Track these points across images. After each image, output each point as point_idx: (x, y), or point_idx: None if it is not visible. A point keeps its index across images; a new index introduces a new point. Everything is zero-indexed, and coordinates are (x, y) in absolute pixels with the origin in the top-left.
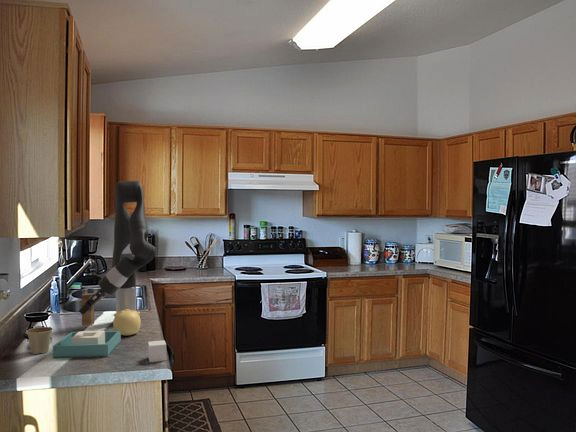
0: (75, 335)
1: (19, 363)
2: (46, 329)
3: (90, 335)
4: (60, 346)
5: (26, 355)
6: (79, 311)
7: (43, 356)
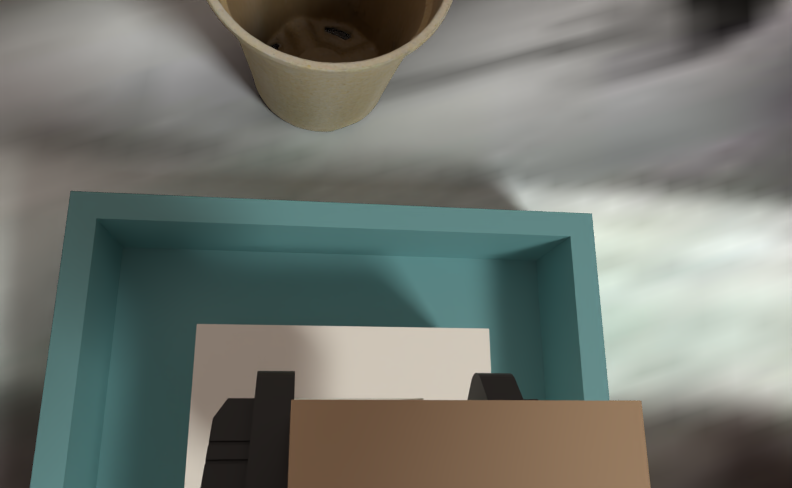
0: (314, 338)
1: (17, 17)
2: (436, 2)
3: None
4: (62, 266)
5: None
6: (259, 379)
7: (180, 136)
